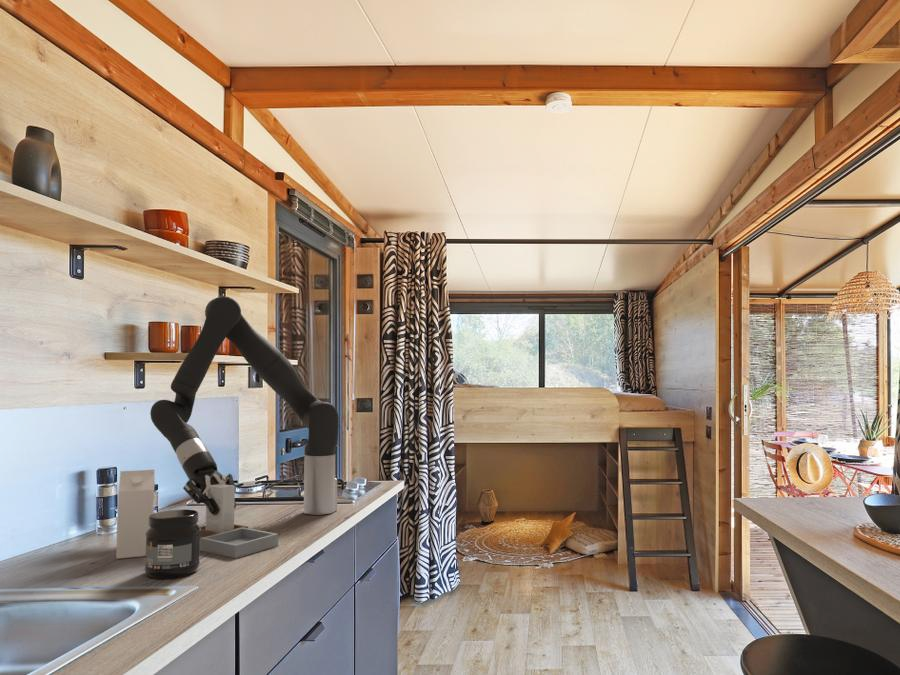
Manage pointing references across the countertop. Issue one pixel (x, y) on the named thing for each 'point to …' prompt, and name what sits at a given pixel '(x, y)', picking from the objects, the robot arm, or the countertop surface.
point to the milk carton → (134, 512)
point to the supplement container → (172, 544)
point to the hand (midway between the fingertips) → (225, 510)
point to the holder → (208, 533)
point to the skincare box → (221, 508)
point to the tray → (238, 542)
